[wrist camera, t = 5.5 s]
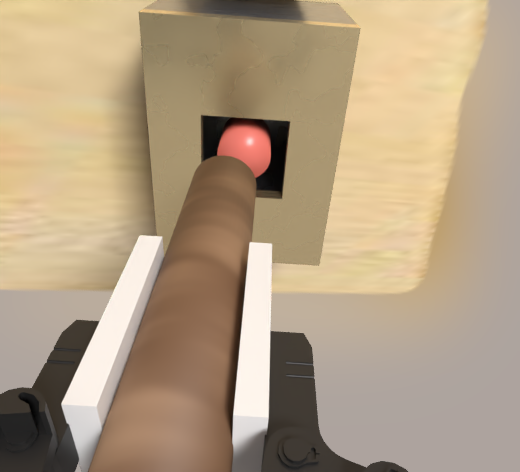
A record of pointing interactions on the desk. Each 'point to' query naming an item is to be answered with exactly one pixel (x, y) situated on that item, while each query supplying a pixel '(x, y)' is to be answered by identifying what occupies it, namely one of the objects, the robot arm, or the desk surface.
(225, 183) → the brown rounded rod
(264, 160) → the pink rubber ball
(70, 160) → the desk surface
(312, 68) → the hollow box
